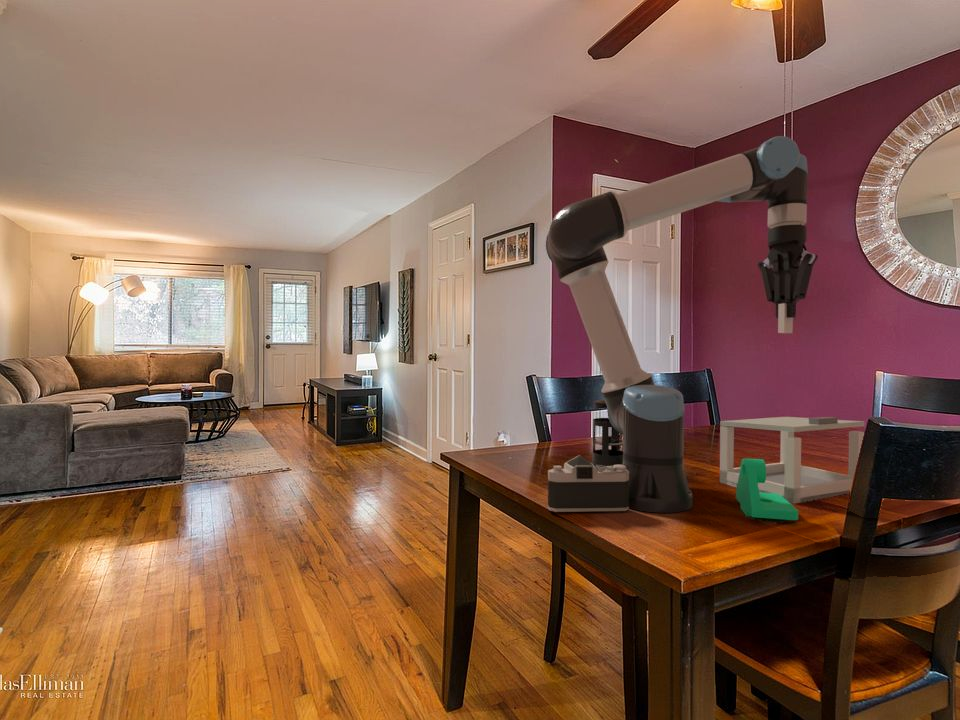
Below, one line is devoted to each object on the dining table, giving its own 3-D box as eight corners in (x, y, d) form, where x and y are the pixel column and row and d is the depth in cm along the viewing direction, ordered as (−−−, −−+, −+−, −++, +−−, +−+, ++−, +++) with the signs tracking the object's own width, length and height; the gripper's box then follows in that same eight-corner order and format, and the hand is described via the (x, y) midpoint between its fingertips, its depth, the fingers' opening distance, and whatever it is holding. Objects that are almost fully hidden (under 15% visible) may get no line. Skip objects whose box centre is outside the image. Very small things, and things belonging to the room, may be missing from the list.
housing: (793, 503, 102) (794, 438, 102) (719, 482, 119) (720, 426, 119) (863, 492, 111) (864, 432, 111) (785, 474, 128) (786, 421, 127)
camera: (619, 499, 106) (619, 450, 106) (634, 512, 97) (634, 459, 97) (542, 499, 105) (542, 451, 105) (550, 513, 97) (550, 459, 96)
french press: (622, 470, 130) (623, 380, 130) (586, 466, 135) (586, 378, 135) (633, 462, 141) (634, 378, 140) (599, 458, 145) (600, 377, 145)
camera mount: (799, 526, 90) (800, 467, 89) (751, 523, 92) (752, 465, 91) (778, 506, 101) (779, 454, 101) (735, 503, 103) (736, 452, 103)
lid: (794, 432, 102) (793, 420, 102) (720, 425, 119) (719, 415, 119) (864, 426, 111) (864, 415, 111) (786, 420, 127) (786, 411, 127)
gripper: (827, 222, 111) (825, 332, 111) (772, 234, 123) (770, 334, 123) (803, 218, 108) (801, 331, 108) (749, 231, 120) (748, 333, 120)
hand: (785, 332), depth 116 cm, fingers closed
